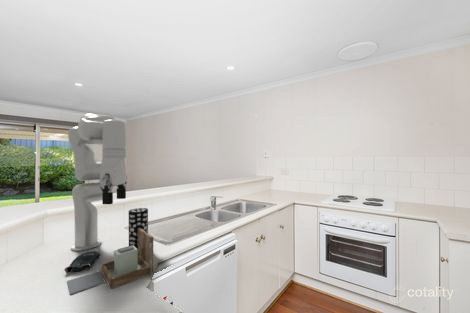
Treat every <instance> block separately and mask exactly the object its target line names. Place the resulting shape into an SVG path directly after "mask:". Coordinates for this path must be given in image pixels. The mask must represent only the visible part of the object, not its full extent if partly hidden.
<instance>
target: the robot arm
mask: <svg viewBox="0 0 470 313" xmlns="http://www.w3.org/2000/svg"><path fill="white" fill-rule="evenodd" d="M126 127H127V126H126V123H125V122H124V121H123V120H117V119H115V118H114V117H113V116H111V115H107V114H97V113H86V114H83V115H82V116H81V117H80V119H79V121H78V124H77V126H74V127H71V128H69V130H68V132H67V137H68V138H67V139H68V143H69V145H70V147H71V150H72V152H73V156H74V176H75V178H76V180H78V181H81V182H84V181H85V182H86V181H99V182H88V183H87V182H86V183H81V184H76V185H75V186H73V188H72V189H71V197H72V202H73V206H74V208H73V209H74V211H73V212H74V243H73V244H71V246H70V249H71V250H72V251H74V252H81V251H82V252H83V251H87V250H91V249H94V248H96V247H99V246H100V245H101V244H102V240H101V239H100V238H98V233H99V232H98V208H97V207H96V205H94V204H93V202H98V201H102V204H103V205H112V204H113V202H114V195H113V194H114V193H113V192H114V191H113V190H114V187H115V186H116V187H117V188H116V200H120V199H121V200H122V199H123V200H125V199H126V198H127V191H126V190H127V183H128V182H127V180H128V176H127V166H126V159H127V147H126V146H127V144H126V143H127V142H126V141H127V131H126V130H127V128H126ZM89 145H102V147H101V148H102V149H101V150H102V153H101V154H102V156H101V157H102V158H101V159H102V160H101V161H95V152H94V150H92V148H91V147H90V146H89Z"/></svg>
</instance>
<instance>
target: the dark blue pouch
mask: <svg viewBox="0 0 470 313" xmlns="http://www.w3.org/2000/svg"><path fill="white" fill-rule="evenodd" d="M101 255H102V253H101V252H100V251H97V250H90V251H86V252H83V253H80V254H79V255H77V256H76V257H75V258H74V259H73V260H72V262H71V263H70V265H68V266H67V267H64V272H65V274H70V273H78V272H83V271H89V270H90V269H91V268H92V267H93V265H94V264H95V263H96V262H97V261H98V260H99V259H101ZM88 265H89V266H88ZM85 266H87V267H88V268H86V267H85ZM74 267H76V268H79V269H78V270H74ZM82 267H85V268H82ZM73 270H74V271H73Z"/></svg>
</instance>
